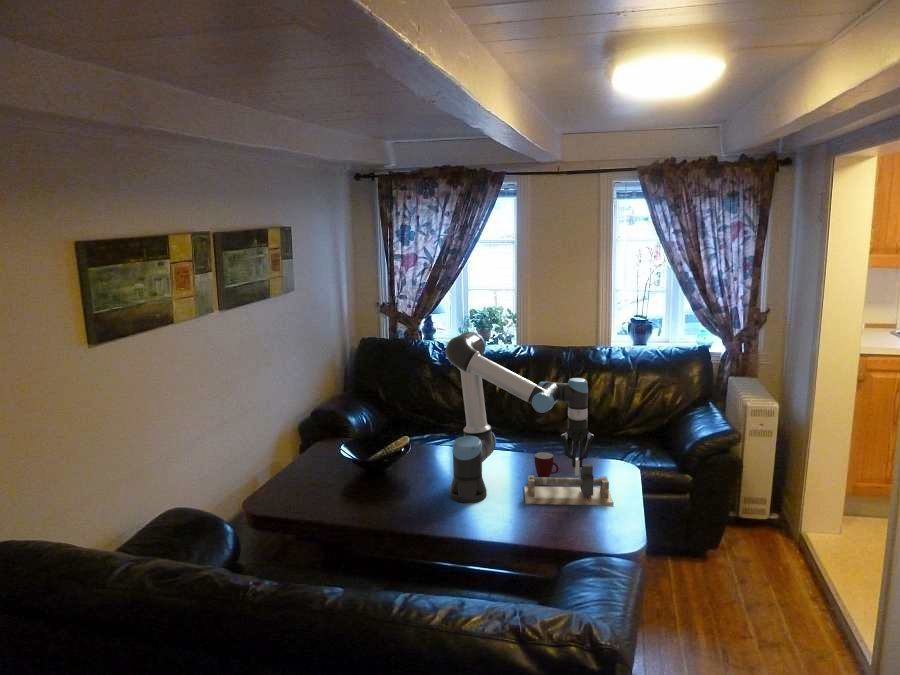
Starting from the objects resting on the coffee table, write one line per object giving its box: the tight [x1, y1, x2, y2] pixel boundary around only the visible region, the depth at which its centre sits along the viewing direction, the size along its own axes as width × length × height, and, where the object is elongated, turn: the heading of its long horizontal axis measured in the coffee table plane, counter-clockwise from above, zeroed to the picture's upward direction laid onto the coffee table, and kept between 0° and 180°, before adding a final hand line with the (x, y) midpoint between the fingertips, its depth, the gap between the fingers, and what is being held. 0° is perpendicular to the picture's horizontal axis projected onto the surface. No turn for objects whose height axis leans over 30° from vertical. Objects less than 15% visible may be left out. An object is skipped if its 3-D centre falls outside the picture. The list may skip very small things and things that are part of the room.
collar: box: [579, 463, 595, 496], centre depth 253 cm, size 4×8×11 cm, turn 175°
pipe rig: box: [523, 474, 614, 506], centre depth 254 cm, size 34×14×8 cm, turn 85°
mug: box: [534, 451, 560, 478], centre depth 273 cm, size 10×8×10 cm
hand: (577, 474), depth 253 cm, fingers closed
